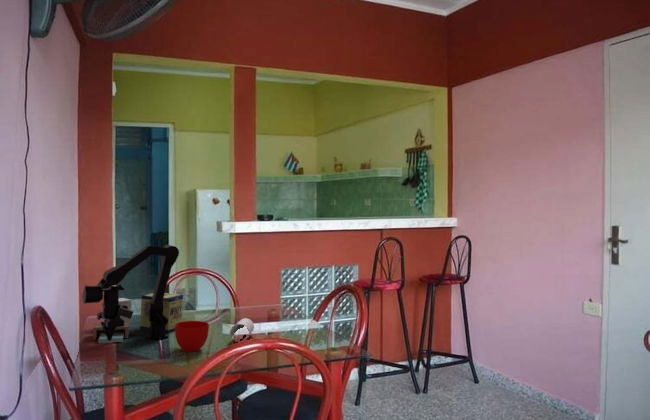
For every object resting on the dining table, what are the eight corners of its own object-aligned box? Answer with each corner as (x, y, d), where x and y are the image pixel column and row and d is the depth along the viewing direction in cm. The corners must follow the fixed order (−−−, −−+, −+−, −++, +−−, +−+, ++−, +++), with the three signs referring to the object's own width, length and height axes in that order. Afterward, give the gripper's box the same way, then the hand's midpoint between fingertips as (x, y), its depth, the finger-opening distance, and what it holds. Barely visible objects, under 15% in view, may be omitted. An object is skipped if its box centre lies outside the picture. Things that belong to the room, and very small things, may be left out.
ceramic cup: (188, 341, 216) (189, 317, 216) (214, 350, 206) (215, 324, 206) (161, 347, 206) (162, 322, 206) (187, 356, 196) (188, 329, 196)
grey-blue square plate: (122, 343, 211) (122, 338, 211) (98, 344, 208) (98, 339, 208) (123, 337, 221) (124, 332, 221) (100, 338, 218) (101, 333, 218)
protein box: (168, 333, 229) (170, 298, 229) (139, 329, 234) (140, 294, 234) (182, 328, 239) (183, 294, 239) (154, 324, 244) (155, 291, 244)
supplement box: (115, 329, 231) (116, 301, 231) (106, 327, 236) (107, 299, 236) (130, 327, 237) (131, 299, 237) (121, 324, 242) (122, 297, 242)
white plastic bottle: (256, 333, 236) (257, 315, 236) (248, 343, 217) (249, 324, 217) (239, 332, 236) (240, 314, 236) (229, 342, 218) (230, 323, 218)
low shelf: (127, 338, 217) (128, 326, 217) (92, 339, 213) (93, 327, 213) (128, 333, 225) (129, 322, 225) (94, 335, 221) (95, 323, 221)
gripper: (138, 304, 206) (136, 343, 206) (125, 296, 221) (123, 333, 221) (108, 306, 199) (107, 346, 199) (97, 298, 215) (95, 336, 215)
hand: (109, 340), depth 209 cm, fingers closed
